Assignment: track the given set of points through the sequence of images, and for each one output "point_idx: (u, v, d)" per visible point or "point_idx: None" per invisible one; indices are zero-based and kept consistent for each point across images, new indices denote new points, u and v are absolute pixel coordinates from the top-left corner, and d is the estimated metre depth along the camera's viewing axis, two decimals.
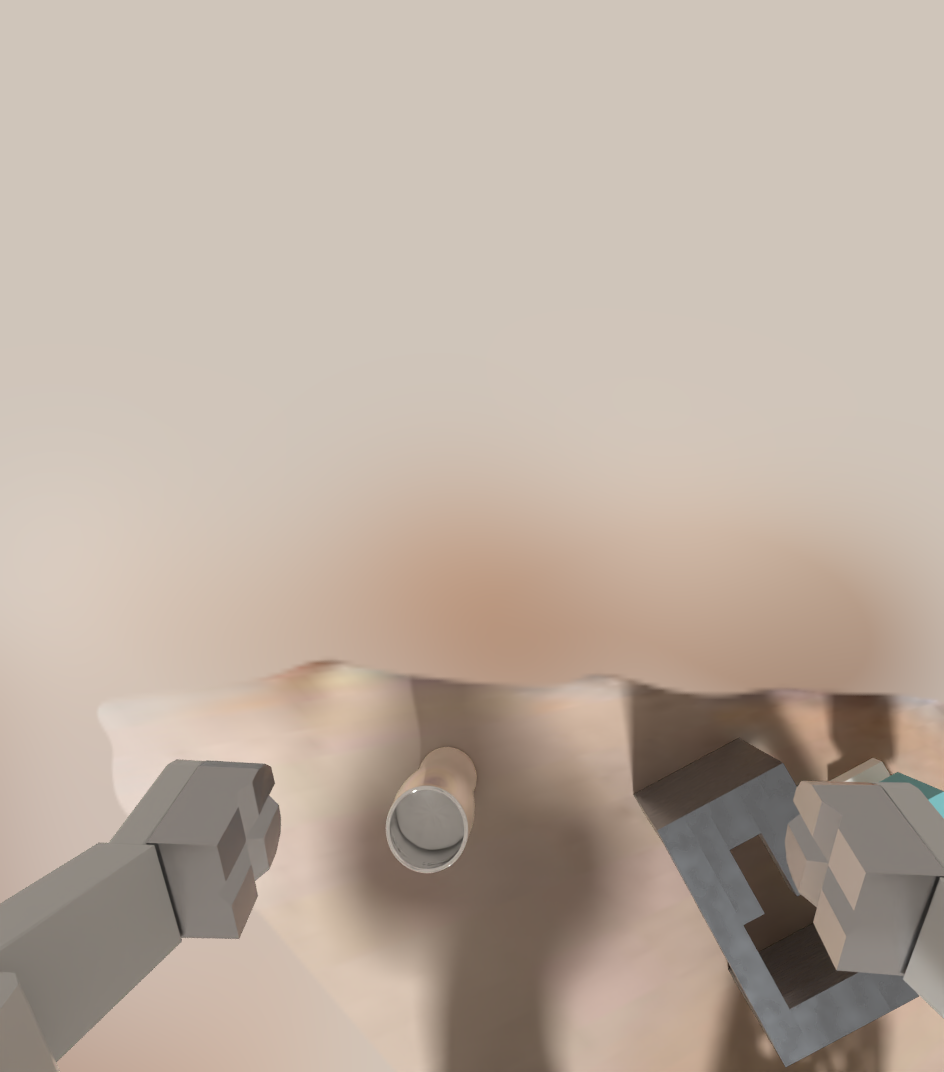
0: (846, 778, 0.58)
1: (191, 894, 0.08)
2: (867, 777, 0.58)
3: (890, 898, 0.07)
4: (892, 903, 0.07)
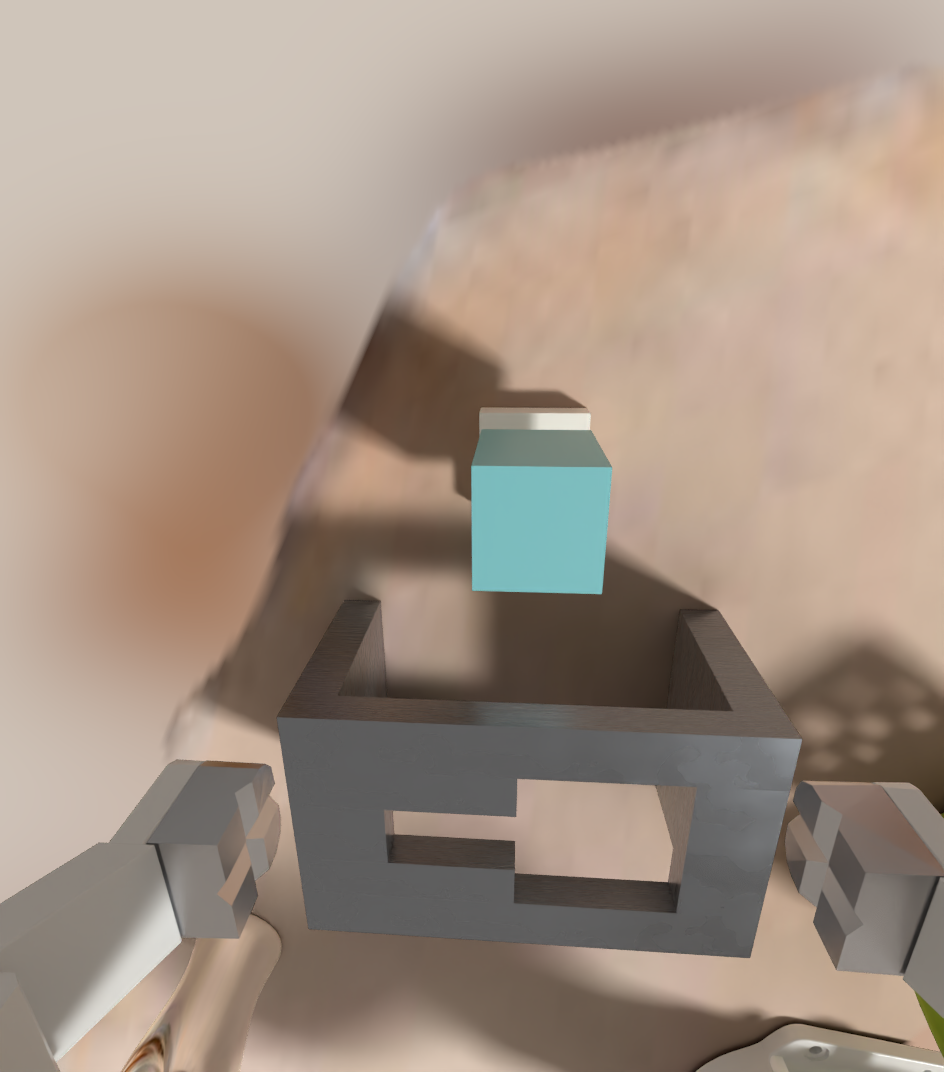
0: None
1: (191, 894, 0.08)
2: None
3: (890, 898, 0.07)
4: (892, 903, 0.07)
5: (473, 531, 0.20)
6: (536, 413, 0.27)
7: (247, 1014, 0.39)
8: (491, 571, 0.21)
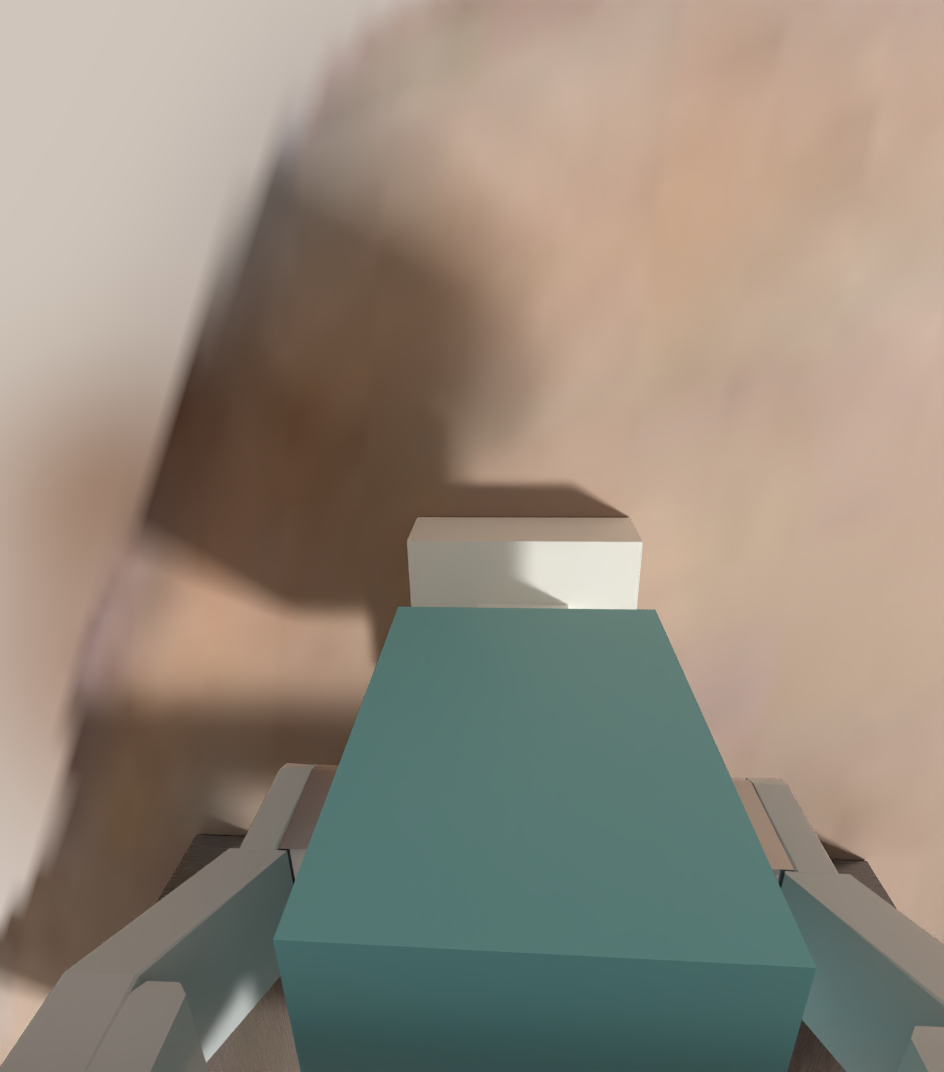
0: None
1: None
2: None
3: None
4: None
5: None
6: (527, 541, 0.13)
7: None
8: None
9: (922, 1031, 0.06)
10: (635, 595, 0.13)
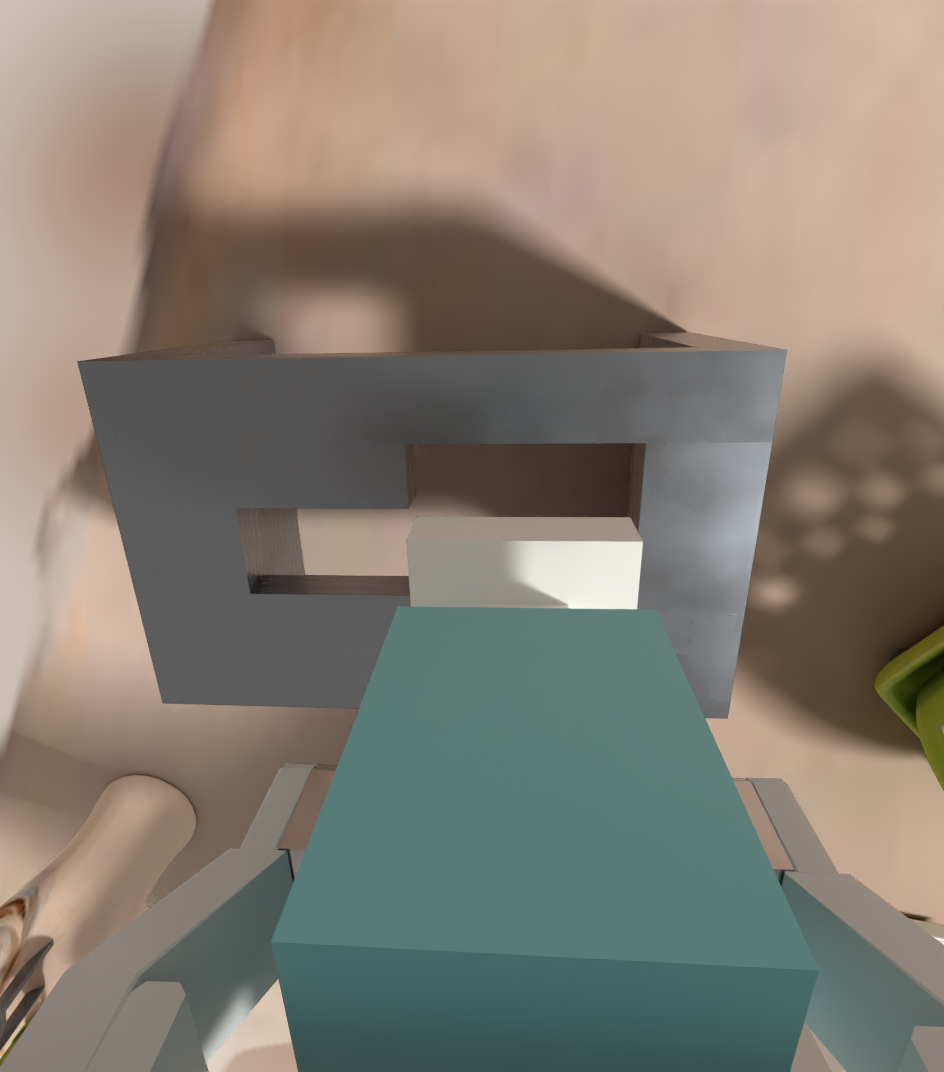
0: None
1: None
2: None
3: None
4: None
5: None
6: (527, 541, 0.13)
7: (142, 880, 0.33)
8: None
9: (922, 1030, 0.06)
10: (635, 595, 0.13)
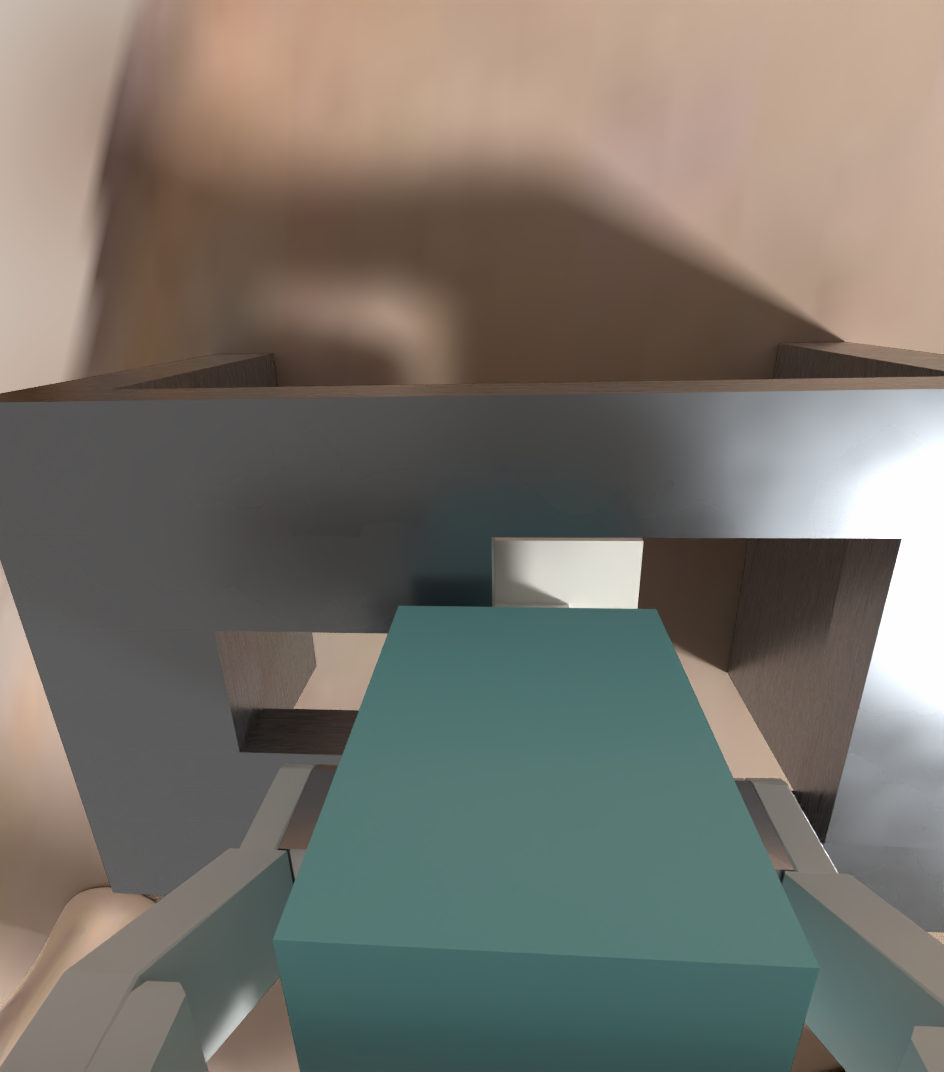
0: None
1: None
2: None
3: None
4: None
5: None
6: (527, 541, 0.13)
7: None
8: None
9: (922, 1031, 0.06)
10: (636, 594, 0.13)
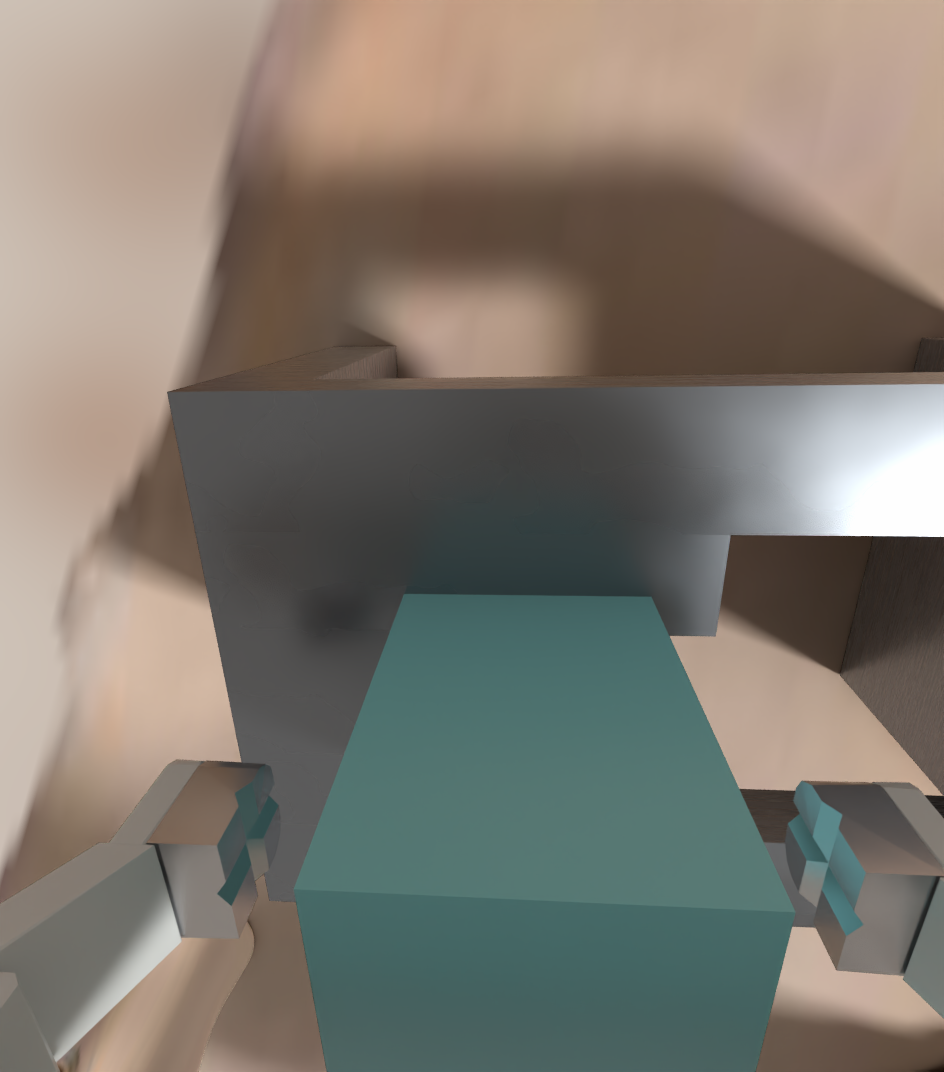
0: None
1: (191, 894, 0.08)
2: None
3: (890, 898, 0.07)
4: (892, 903, 0.07)
5: (326, 1042, 0.06)
6: None
7: (196, 1044, 0.25)
8: None
9: None
10: None
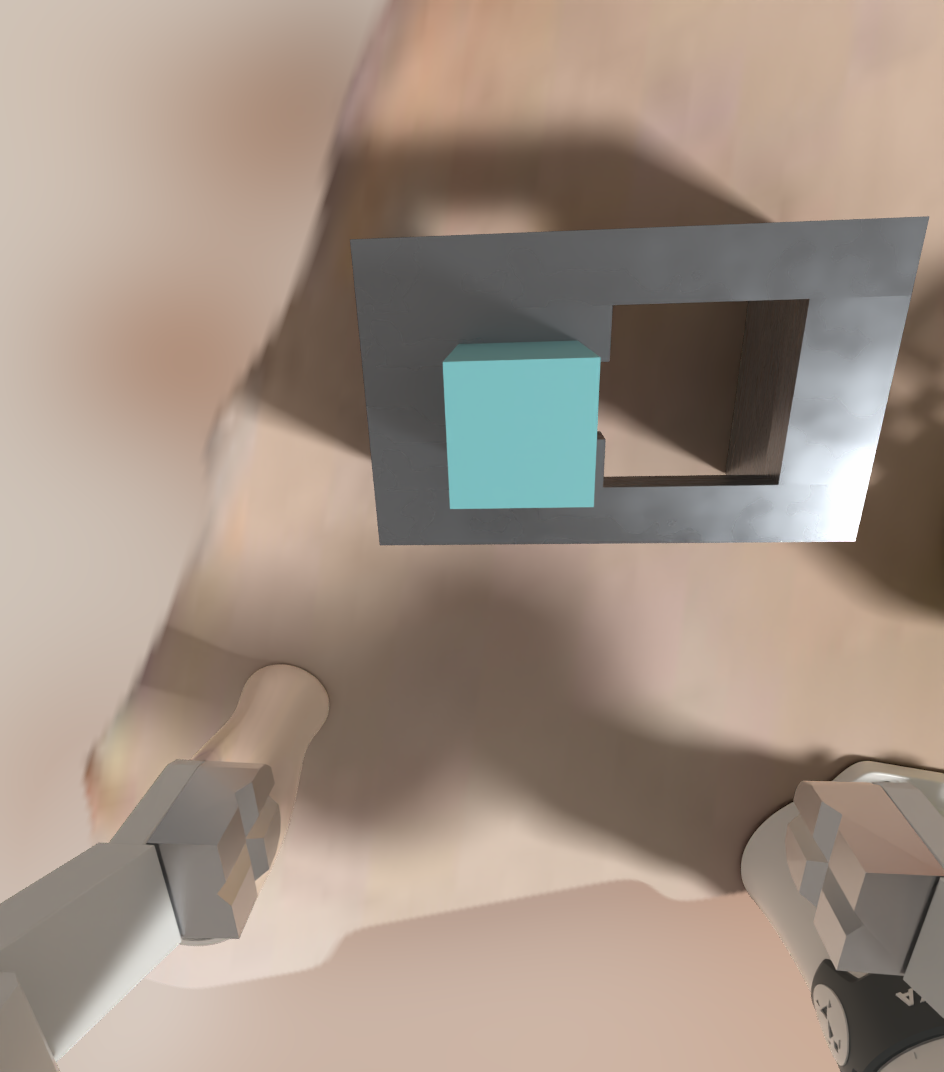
0: None
1: (191, 894, 0.08)
2: None
3: (890, 898, 0.07)
4: (892, 903, 0.07)
5: (448, 439, 0.18)
6: None
7: (301, 745, 0.37)
8: (470, 485, 0.19)
9: None
10: None
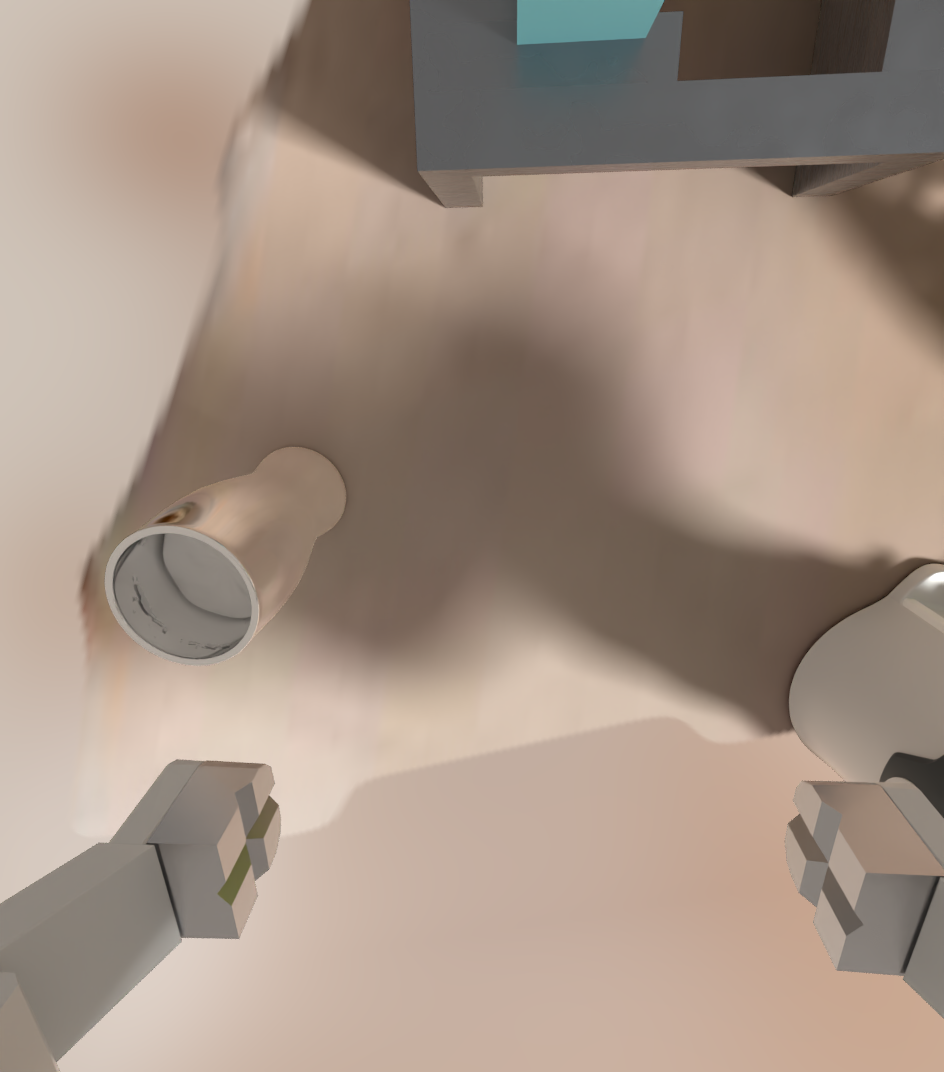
0: None
1: (191, 894, 0.08)
2: None
3: (890, 898, 0.07)
4: (892, 903, 0.07)
5: None
6: None
7: (316, 510, 0.34)
8: None
9: None
10: None
